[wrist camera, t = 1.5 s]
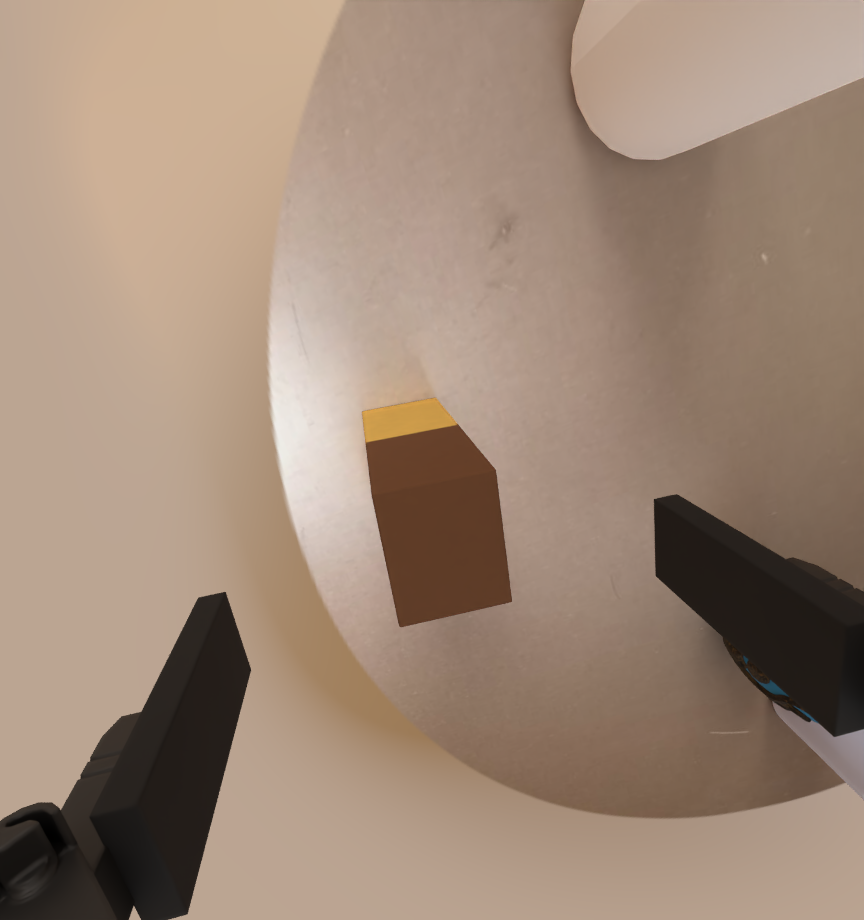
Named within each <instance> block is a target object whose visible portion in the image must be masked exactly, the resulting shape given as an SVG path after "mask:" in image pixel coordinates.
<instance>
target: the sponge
mask: <svg viewBox="0 0 864 920" xmlns="http://www.w3.org/2000/svg"><path fill="white" fill-rule="evenodd" d="M362 416H363V424H364V433H365V442H366V450H367V459H368V467H369V476H370V485H371V493H372V499H373V504H374V509H375V513H376V518H377V523H378V528H379V532H380V537H381V542H382V547H383V551H384V556H385V561H386V566H387V570H388V575H389V580H390V585H391V589H392V594H393V599H394V604H395V608H396V613H397V618H398V623H399V626H400V627H404V626H409V625H413V624H417V623H422V622H426V621H431V620H435V619H439V618H444V617H448V616H452V615H457V614H461V613H466V612H470V611H474V610H479V609H483V608H487V607H492V606H496V605H500V604H505V603H509V602H512V597H511V589H510V581H509V573H508V565H507V557H506V549H505V541H504V532H503V524H502V516H501V508H500V500H499V492H498V484H497V476H496V470H495V469H494V467H493V466H492V465H491V464H490V462H489V461H488V460H487V459H486V458H485V456H484V455H483V454H482V453H481V452H480V450H479V449H478V448H477V447H476V446H475V444H474V443H473V442H472V441H471V440H470V438H469V437H468V436H467V435H466V434H465V432H464V431H463V430H462V429H461V428H460V426H459V425H458V424H457V423H456V422H455V420H454V419H453V418H452V417H451V416H450V414H449V413H448V412H447V411H446V409H445V408H444V407H443V406H442V405H441V403H440V402H439V401H438V400H437V399H436V398H431V399H426V400H421V401H415V402H410V403H405V404H399V405H394V406H389V407H383V408H378V409H373V410H367V411H363V412H362Z"/></svg>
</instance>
